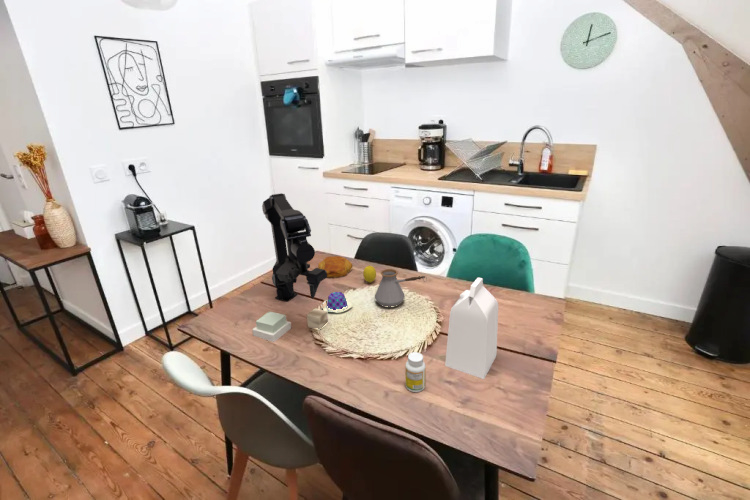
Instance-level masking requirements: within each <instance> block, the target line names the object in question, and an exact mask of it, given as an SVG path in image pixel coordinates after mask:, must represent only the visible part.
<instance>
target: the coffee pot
mask: <svg viewBox="0 0 750 500" xmlns="http://www.w3.org/2000/svg"><path fill="white" fill-rule="evenodd" d="M398 273H399V272H398V271H397V270H396V269H393V268H387V269H386V268H385V269H383V270H381V271H380V275H381V276H382V277H381V281H380V283H379V285H378V287H377V290H376V292H375V295H374V299H375V301H376V302H377V303H378V305H380V306H382V305H383V306H382V307H384V306H388V307H391V306H396V305H398V306H399V305H400V304H402V302H404V300H405V297H406V296H405V292H404V291H403V288H402V287H401V284H400V283H402V282H412V281H417V280H421V279H422V281H423V282H424V283H426V282H427V281H428V278H427V276H425V275H421V276H420V275H419V276H413V277H408V278H402V279H398V278H397V275H398ZM424 279H426V281H425V280H424ZM388 307H387V308H388ZM396 307H397V306H396ZM391 308H392V307H391Z"/></svg>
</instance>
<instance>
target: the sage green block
mask: <svg viewBox="0 0 750 500" xmlns="http://www.w3.org/2000/svg"><path fill="white" fill-rule="evenodd" d="M287 321H288V320H287V316H286V314H283V313H277V312H273V311H267V312H266V313H265V314H264V315H262V316H261V317H259V319H257V320H255V324H256V326H257V329H259V330H263V331H267V332H271V333H275V332H276V331H277V330H279V329H280V328H281V327H282V326H283V325H285V324H286V323H287Z"/></svg>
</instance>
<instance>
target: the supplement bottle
mask: <svg viewBox="0 0 750 500" xmlns="http://www.w3.org/2000/svg"><path fill="white" fill-rule="evenodd" d="M407 356H408V357H407V361H406V362H405V374H404V375H405V376H404V377H405V387H406V389H407V390H409V392H413V393H420V392H422V391H423V390H425V387H426V369H427V368H426V363H425V361H424V355H423V354H422V353H420V352H416V351H413V352H410V353H409V354H408V355H407Z"/></svg>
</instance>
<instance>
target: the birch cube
mask: <svg viewBox="0 0 750 500" xmlns="http://www.w3.org/2000/svg"><path fill="white" fill-rule="evenodd" d="M328 316H329V315H328V312H327V311H324V310H322V309H320V308H316V307H315V308H314V309H313V310H311V311H310V312H309V313H307V314H306V320H307V327H308V328H310V329H313V328H318V329H320V328H322V327H323V326H324V325H325V324H326V323H327V322H328V323H329V317H328ZM323 328H324V327H323ZM323 328H322V329H323Z"/></svg>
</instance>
